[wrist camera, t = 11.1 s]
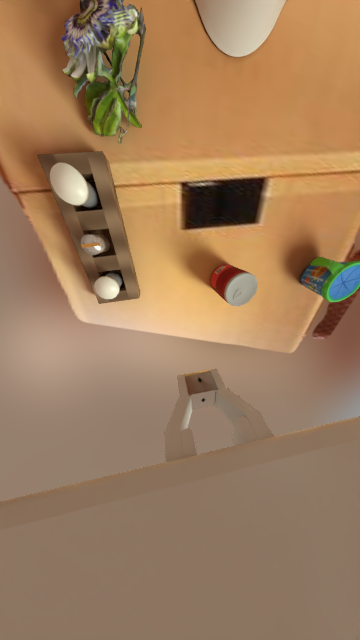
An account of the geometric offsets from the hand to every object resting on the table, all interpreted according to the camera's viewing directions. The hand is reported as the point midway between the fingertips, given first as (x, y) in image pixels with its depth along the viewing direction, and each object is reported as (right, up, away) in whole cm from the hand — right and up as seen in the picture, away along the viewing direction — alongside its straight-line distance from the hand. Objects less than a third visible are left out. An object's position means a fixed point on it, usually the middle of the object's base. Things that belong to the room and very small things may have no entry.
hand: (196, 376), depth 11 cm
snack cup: (+41, +19, +35) cm, 57 cm away
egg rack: (-18, +22, +23) cm, 37 cm away
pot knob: (-18, +21, +20) cm, 34 cm away
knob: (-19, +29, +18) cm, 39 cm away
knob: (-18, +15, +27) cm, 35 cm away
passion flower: (-12, +41, +13) cm, 45 cm away
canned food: (+11, +17, +32) cm, 37 cm away
